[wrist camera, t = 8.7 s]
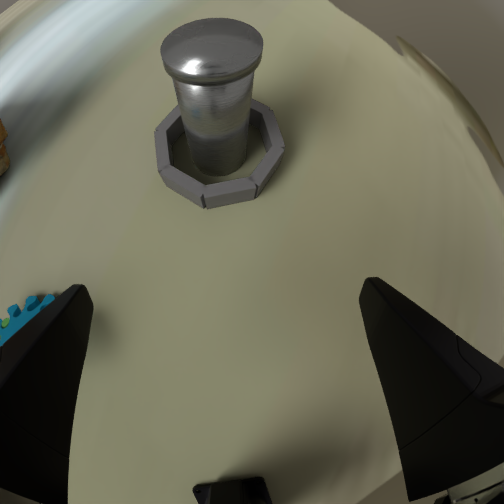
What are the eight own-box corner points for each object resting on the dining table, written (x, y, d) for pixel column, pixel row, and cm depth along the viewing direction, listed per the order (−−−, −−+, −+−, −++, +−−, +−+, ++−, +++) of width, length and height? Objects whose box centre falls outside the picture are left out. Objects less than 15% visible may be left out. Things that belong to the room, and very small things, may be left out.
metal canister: (261, 157, 24) (284, 48, 12) (211, 191, 23) (194, 89, 11) (225, 118, 25) (224, 9, 12) (176, 148, 24) (144, 42, 11)
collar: (290, 193, 24) (296, 180, 21) (169, 217, 23) (162, 207, 20) (261, 101, 25) (263, 85, 23) (157, 120, 24) (152, 105, 22)
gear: (90, 297, 19) (29, 402, 11) (114, 344, 23) (73, 437, 14) (13, 281, 20) (-40, 353, 12) (37, 323, 24) (-5, 392, 15)
